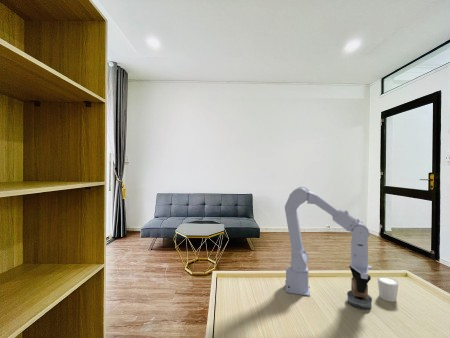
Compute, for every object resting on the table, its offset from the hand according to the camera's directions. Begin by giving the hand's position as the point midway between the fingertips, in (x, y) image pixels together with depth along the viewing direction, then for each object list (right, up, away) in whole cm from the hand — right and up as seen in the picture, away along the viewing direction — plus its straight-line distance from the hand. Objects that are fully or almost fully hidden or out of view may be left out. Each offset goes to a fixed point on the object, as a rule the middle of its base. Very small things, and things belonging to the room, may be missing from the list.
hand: (359, 288), depth 87 cm
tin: (0, -6, 0) cm, 6 cm away
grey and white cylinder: (+14, -6, +4) cm, 16 cm away
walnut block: (0, -2, 0) cm, 2 cm away
